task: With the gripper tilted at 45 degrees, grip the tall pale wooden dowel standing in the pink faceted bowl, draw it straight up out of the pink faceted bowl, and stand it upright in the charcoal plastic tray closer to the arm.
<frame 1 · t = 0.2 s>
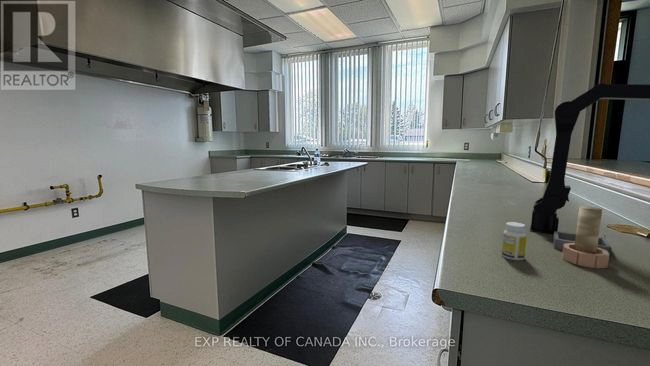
dowel: (583, 261, 71), resting in pink faceted bowl
pink faceted bowl: (583, 260, 71), on the counter
supplement bottle: (512, 257, 73), on the counter
tray: (579, 247, 80), on the counter
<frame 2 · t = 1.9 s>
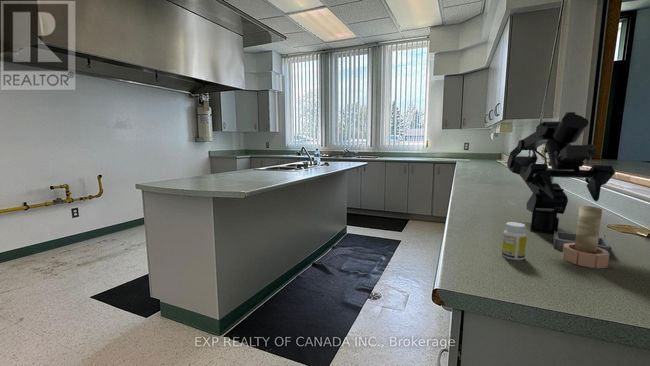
hand: (575, 199, 76), 13 cm above the counter, tool tilted 45°, fingers open, 9 cm apart
nothing on the counter moved.
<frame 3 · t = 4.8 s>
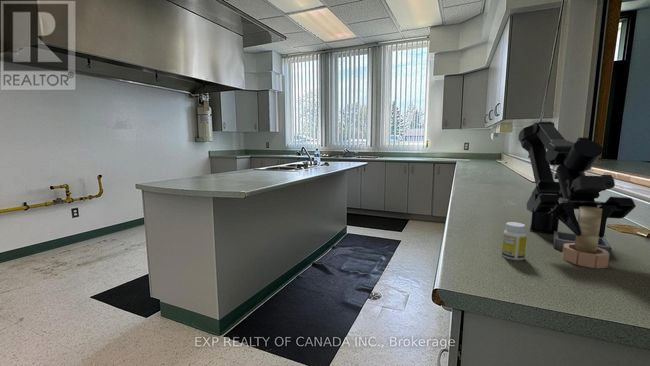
hand: (590, 236, 69), 7 cm above the counter, tool tilted 45°, fingers closed on dowel, 4 cm apart
dowel: (583, 261, 71), resting in pink faceted bowl, touching gripper
everything else where it was.
when the fingers open (9 cm above the counter, at t = 8.7 s): dowel drops 1 cm, resting on tray.
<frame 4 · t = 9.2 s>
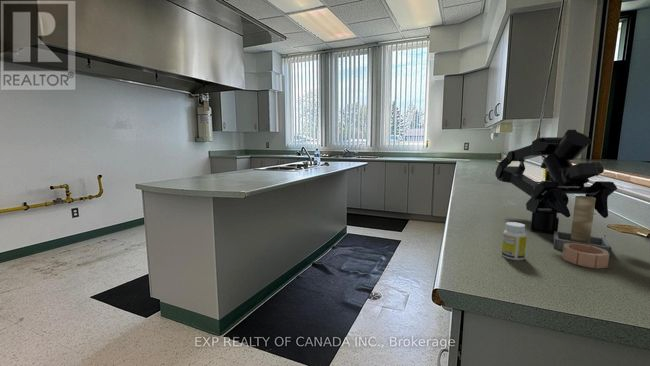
hand: (587, 216, 77), 9 cm above the counter, tool tilted 45°, fingers open, 9 cm apart
dowel: (579, 244, 80), point 1 cm above the counter, touching tray
everything else where it was.
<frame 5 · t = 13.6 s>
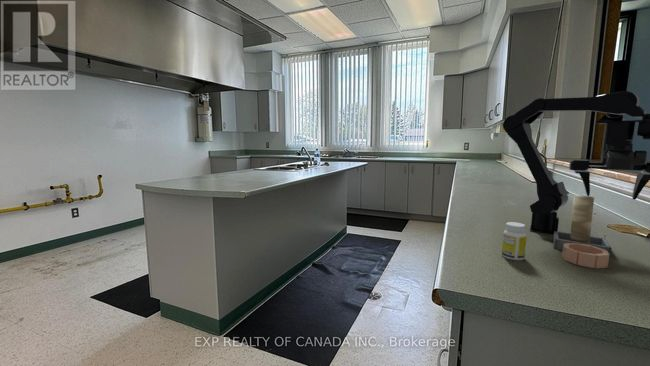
hand: (610, 197, 81), 13 cm above the counter, tool pointing down, fingers open, 9 cm apart
nothing on the counter moved.
at the end: dowel inside the target area on the tray (0.0 cm from its centre), point 0.9 cm above the tray's base; dowel tilted 2°; the gripper is holding nothing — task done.
